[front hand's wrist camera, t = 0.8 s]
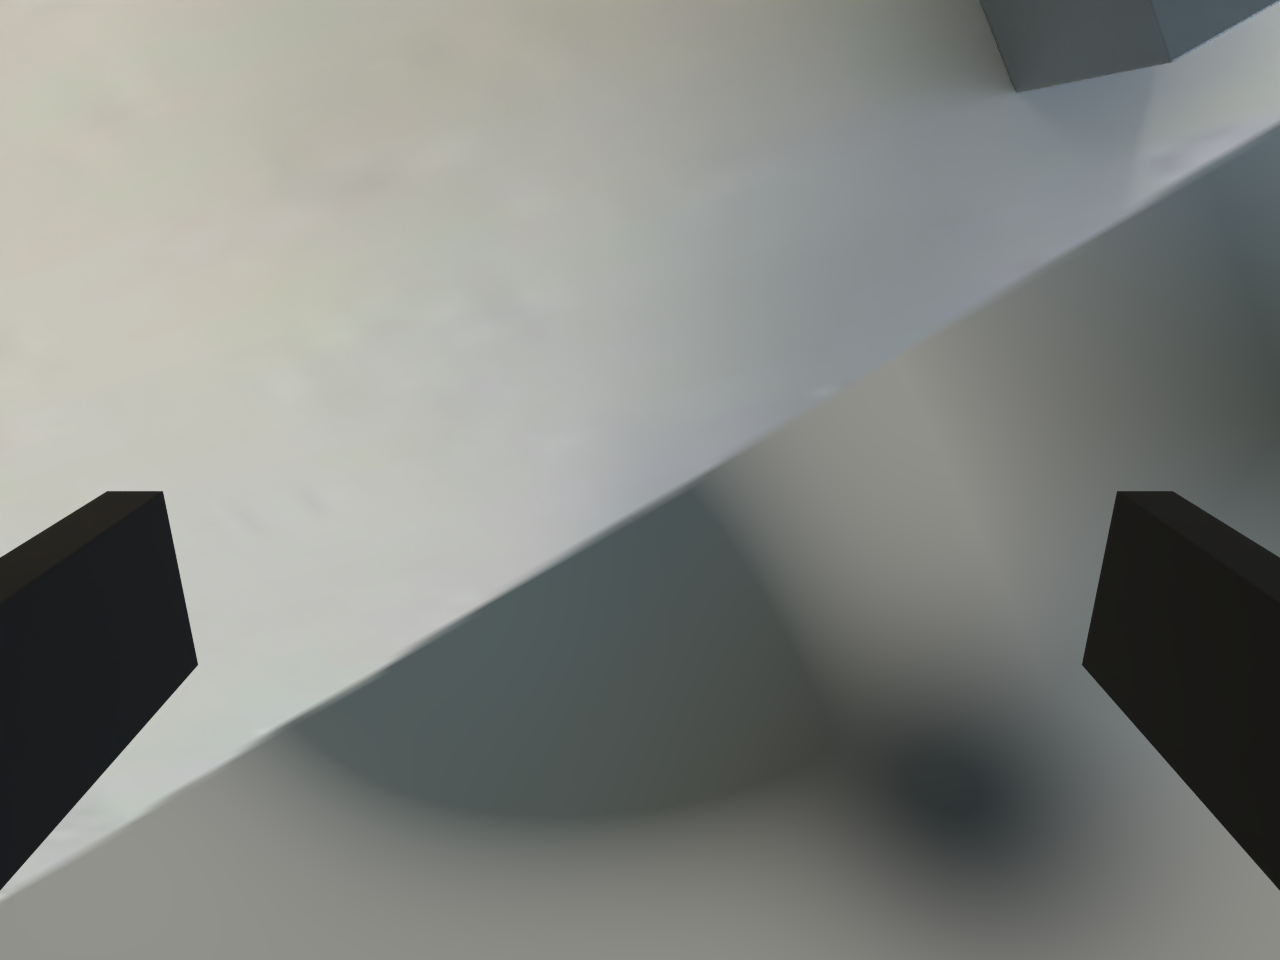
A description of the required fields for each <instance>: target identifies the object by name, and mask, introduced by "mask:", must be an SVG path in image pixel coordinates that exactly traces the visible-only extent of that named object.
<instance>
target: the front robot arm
mask: <svg viewBox="0 0 1280 960" xmlns="http://www.w3.org/2000/svg"><path fill="white" fill-rule="evenodd" d="M197 665H198V663H197V658H196V653H195V648H194V643H193V638H192V633H191V628H190V623H189V618H188V613H187V608H186V603H185V598H184V593H183V588H182V583H181V579H180V574H179V569H178V564H177V559H176V554H175V549H174V544H173V539H172V534H171V529H170V524H169V519H168V514H167V509H166V504H165V499H164V494H163V491H107V492H105V493H104V494H102V495H101V496H99V497H97V498H96V499H94V500H92V501H91V502H89V503H88V504H86V505H84V506H83V507H81V508H80V509H78V510H76V511H75V512H73V513H72V514H70V515H68V516H67V517H65V518H63V519H62V520H60V521H59V522H57V523H55V524H54V525H52V526H51V527H49V528H47V529H46V530H44V531H43V532H41V533H39V534H38V535H36V536H34V537H33V538H31V539H30V540H28V541H26V542H25V543H23V544H22V545H20V546H18V547H17V548H15V549H14V550H12V551H10V552H9V553H7V554H5V555H4V556H2V557H1V558H0V890H1V889H2V888H3V887H4V885H5V884H6V883H7V882H8V881H9V880H10V879H11V878H12V876H13V875H14V874H15V873H16V872H17V871H18V870H19V868H20V867H21V866H22V865H23V864H24V863H25V862H26V860H27V859H28V858H29V857H30V856H31V855H32V854H33V852H34V851H35V850H36V849H37V848H38V847H39V846H40V844H41V843H42V842H43V841H44V840H45V839H46V838H47V836H48V835H49V834H50V833H51V832H52V831H53V830H54V828H55V827H56V826H57V825H58V824H59V823H60V822H61V820H62V819H63V818H64V817H65V816H66V815H67V814H68V813H69V811H70V810H71V809H72V808H73V807H74V806H75V805H76V803H77V802H78V801H79V800H80V799H81V798H82V797H83V795H84V794H85V793H86V792H87V791H88V790H89V789H90V787H91V786H92V785H93V784H94V783H95V782H96V781H97V779H98V778H99V777H100V776H101V775H102V774H103V773H104V771H105V770H106V769H107V768H108V767H109V766H110V765H111V763H112V762H113V761H114V760H115V759H116V758H117V757H118V755H119V754H120V753H121V752H122V751H123V750H124V749H125V748H126V746H127V745H128V744H129V743H130V742H131V741H132V740H133V738H134V737H135V736H136V735H137V734H138V733H139V732H140V730H141V729H142V728H143V727H144V726H145V725H146V724H147V722H148V721H149V720H150V719H151V718H152V717H153V716H154V714H155V713H156V712H157V711H158V710H159V709H160V708H161V706H162V705H163V704H164V703H165V702H166V701H167V700H168V698H169V697H170V696H171V695H172V694H173V693H174V692H175V690H176V689H177V688H178V687H179V686H180V685H181V684H182V683H183V681H184V680H185V679H186V678H187V677H188V676H189V675H190V673H191V672H192V671H193V670H194V669H195V668H196V667H197ZM1082 665H1083V667H1084V668H1085V669H1086V670H1087V671H1088V672H1089V673H1090V675H1091V676H1092V677H1093V678H1094V679H1095V680H1096V681H1097V683H1098V684H1099V685H1100V686H1101V687H1102V688H1103V689H1104V690H1105V692H1106V693H1107V694H1108V695H1109V696H1110V697H1111V698H1112V700H1113V701H1114V702H1115V703H1116V704H1117V705H1118V706H1119V708H1120V709H1121V710H1122V711H1123V712H1124V713H1125V714H1126V716H1127V717H1128V718H1129V719H1130V720H1131V721H1132V722H1133V723H1134V725H1135V726H1136V727H1137V728H1138V729H1139V730H1140V732H1141V733H1142V734H1143V735H1144V736H1145V737H1146V738H1147V740H1148V741H1149V742H1150V743H1151V744H1152V745H1153V746H1154V747H1155V749H1156V750H1157V751H1158V752H1159V753H1160V754H1161V755H1162V757H1163V758H1164V759H1165V760H1166V761H1167V762H1168V763H1169V765H1170V766H1171V767H1172V768H1173V769H1174V770H1175V771H1176V772H1177V774H1178V775H1179V776H1180V777H1181V778H1182V779H1183V781H1184V782H1185V783H1186V784H1187V785H1188V786H1189V787H1190V789H1191V790H1192V791H1193V792H1194V793H1195V794H1196V795H1197V796H1198V798H1199V799H1200V800H1201V801H1202V802H1203V803H1204V805H1205V806H1206V807H1207V808H1208V809H1209V810H1210V811H1211V813H1212V814H1213V815H1214V816H1215V817H1216V818H1217V819H1218V820H1219V822H1220V823H1221V824H1222V825H1223V826H1224V827H1225V828H1226V830H1227V831H1228V832H1229V833H1230V834H1231V835H1232V836H1233V838H1234V839H1235V840H1236V841H1237V842H1238V843H1239V844H1240V846H1241V847H1242V848H1243V849H1244V850H1245V851H1246V852H1247V854H1248V855H1249V856H1250V857H1251V858H1252V859H1253V860H1254V862H1255V863H1256V864H1257V865H1258V866H1259V867H1260V868H1261V870H1262V871H1263V872H1264V873H1265V874H1266V875H1267V876H1268V877H1269V879H1270V880H1271V881H1272V882H1273V883H1274V884H1275V885H1276V887H1277V888H1278V889H1279V890H1280V558H1279V557H1278V556H1276V555H1275V554H1273V553H1271V552H1270V551H1268V550H1266V549H1265V548H1263V547H1262V546H1260V545H1258V544H1257V543H1255V542H1254V541H1252V540H1250V539H1249V538H1247V537H1246V536H1244V535H1242V534H1241V533H1239V532H1237V531H1236V530H1234V529H1233V528H1231V527H1229V526H1228V525H1226V524H1225V523H1223V522H1221V521H1220V520H1218V519H1216V518H1215V517H1213V516H1212V515H1210V514H1208V513H1207V512H1205V511H1204V510H1202V509H1200V508H1199V507H1197V506H1196V505H1194V504H1192V503H1191V502H1189V501H1187V500H1186V499H1184V498H1183V497H1181V496H1179V495H1178V494H1176V493H1175V492H1173V491H1117V495H1116V500H1115V504H1114V509H1113V514H1112V519H1111V524H1110V529H1109V534H1108V539H1107V544H1106V549H1105V554H1104V559H1103V564H1102V569H1101V574H1100V579H1099V583H1098V588H1097V593H1096V598H1095V603H1094V608H1093V613H1092V618H1091V623H1090V628H1089V633H1088V638H1087V643H1086V648H1085V653H1084V658H1083V663H1082Z"/></svg>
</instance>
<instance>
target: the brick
mask: <svg viewBox="0 0 1280 960" xmlns="http://www.w3.org/2000/svg"><path fill="white" fill-rule="evenodd" d="M980 1H981V4H982V6H983V9H984V11H985V14H986V16H987V19H988V21H989V24H990V27H991V29H992V32H993V34H994V37H995V39H996V42H997V44H998V47H999V50H1000V52H1001V55H1002V57H1003V60H1004V62H1005V65H1006V67H1007V70H1008V73H1009V75H1010V78H1011V80H1012V83H1013V85H1014V88H1015V90H1016V92H1017V93H1020V92H1025V91H1030V90H1035V89H1040V88H1045V87H1050V86H1055V85H1060V84H1065V83H1070V82H1075V81H1080V80H1086V79H1091V78H1096V77H1101V76H1106V75H1111V74H1116V73H1121V72H1126V71H1131V70H1136V69H1141V68H1146V67H1151V66H1156V65H1162V64H1167V63H1171V62H1173V61H1175V60H1177V59H1178V58H1180V57H1182V56H1184V55H1185V54H1187V53H1189V52H1191V51H1193V50H1194V49H1196V48H1198V47H1200V46H1201V45H1203V44H1205V43H1207V42H1208V41H1210V40H1212V39H1214V38H1216V37H1217V36H1219V35H1221V34H1223V33H1224V32H1226V31H1228V30H1230V29H1231V28H1233V27H1235V26H1237V25H1238V24H1240V23H1242V22H1244V21H1246V20H1247V19H1249V18H1251V17H1253V16H1254V15H1256V14H1258V13H1260V12H1261V11H1263V10H1265V9H1267V8H1269V7H1270V6H1272V5H1274V4H1276V3H1277V2H1279V1H1280V0H980Z"/></svg>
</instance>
